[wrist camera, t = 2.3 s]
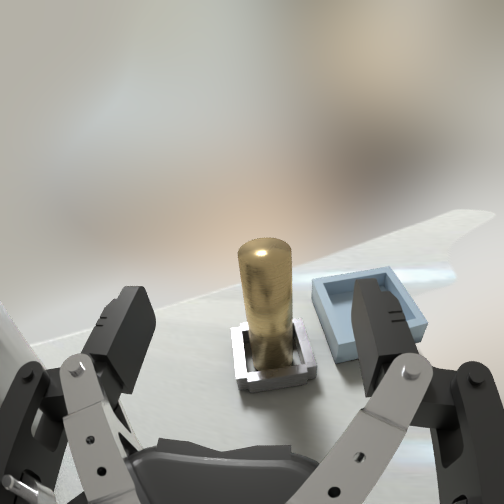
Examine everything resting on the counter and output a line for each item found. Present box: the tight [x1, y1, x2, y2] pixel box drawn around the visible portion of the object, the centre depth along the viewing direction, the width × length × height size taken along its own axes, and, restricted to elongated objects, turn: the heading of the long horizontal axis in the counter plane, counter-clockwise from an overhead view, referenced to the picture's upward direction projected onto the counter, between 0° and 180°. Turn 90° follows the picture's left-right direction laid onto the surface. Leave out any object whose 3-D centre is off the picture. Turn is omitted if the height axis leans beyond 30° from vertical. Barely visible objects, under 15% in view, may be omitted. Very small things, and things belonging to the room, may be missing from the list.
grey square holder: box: [231, 318, 317, 393], centre depth 31 cm, size 7×7×2 cm
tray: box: [312, 266, 428, 364], centre depth 34 cm, size 10×10×3 cm
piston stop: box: [238, 238, 293, 371], centre depth 28 cm, size 4×4×13 cm
